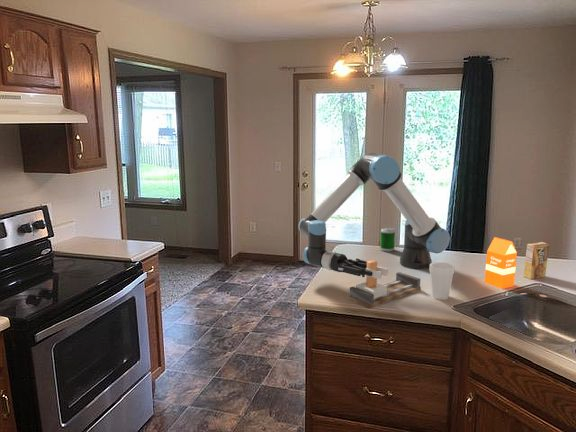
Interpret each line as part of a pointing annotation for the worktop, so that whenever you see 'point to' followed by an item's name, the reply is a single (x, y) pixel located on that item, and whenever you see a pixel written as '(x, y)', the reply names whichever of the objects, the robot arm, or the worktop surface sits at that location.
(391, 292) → the rail
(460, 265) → the worktop surface
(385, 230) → the soda can
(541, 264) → the candy box
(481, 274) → the worktop surface
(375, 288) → the carriage
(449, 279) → the foam cup
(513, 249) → the orange juice
